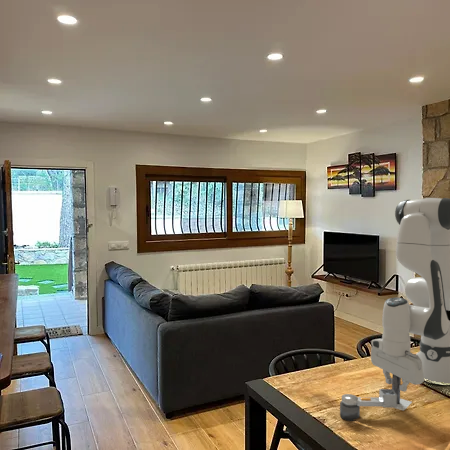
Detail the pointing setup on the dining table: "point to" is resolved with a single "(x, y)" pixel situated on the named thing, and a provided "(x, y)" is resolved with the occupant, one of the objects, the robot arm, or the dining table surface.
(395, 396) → the crank
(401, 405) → the mat
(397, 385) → the dark grey post
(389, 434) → the dining table surface
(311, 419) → the dining table surface
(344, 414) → the crank post
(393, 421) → the dining table surface
